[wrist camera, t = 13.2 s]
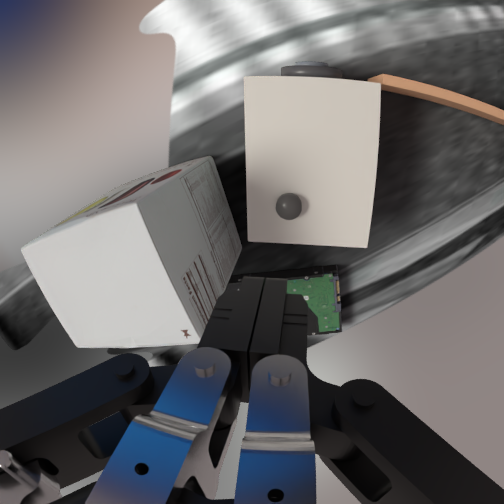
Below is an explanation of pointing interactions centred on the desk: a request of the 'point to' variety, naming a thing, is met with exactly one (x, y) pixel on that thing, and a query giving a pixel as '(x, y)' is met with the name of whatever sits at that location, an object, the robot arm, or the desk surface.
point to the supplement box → (141, 260)
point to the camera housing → (311, 156)
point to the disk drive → (310, 294)
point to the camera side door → (438, 96)
